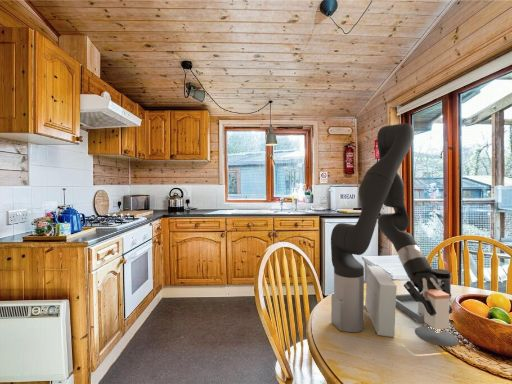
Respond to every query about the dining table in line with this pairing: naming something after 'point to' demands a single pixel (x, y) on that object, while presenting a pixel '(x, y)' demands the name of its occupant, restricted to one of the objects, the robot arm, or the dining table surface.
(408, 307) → the parts tray
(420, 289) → the robot arm
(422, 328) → the slate mat
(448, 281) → the supplement container
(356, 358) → the dining table surface
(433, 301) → the rust lid box
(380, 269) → the skincare box
